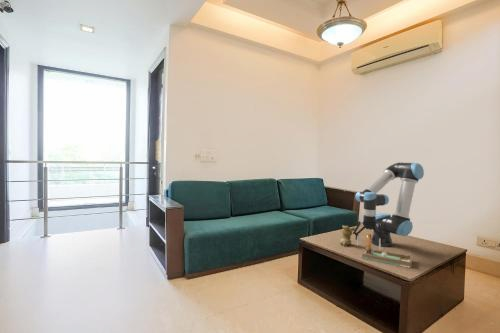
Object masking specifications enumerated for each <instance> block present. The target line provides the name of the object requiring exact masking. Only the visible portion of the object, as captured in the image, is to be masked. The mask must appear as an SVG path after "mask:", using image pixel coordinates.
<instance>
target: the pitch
mask: <svg viewBox="0 0 500 333" xmlns="http://www.w3.org/2000/svg"><path fill="white" fill-rule="evenodd" d="M364 249H365V251H364V253H363V252H362V253H361V258H362V259H364V260H368V261H373V262H379V263H383V264H388V265H393V266H398V267H399V266H400V267H405V268H409V269H412V265H413V254H412V255H409V254H408V255H407V254H403V253H397V252H391V251H386V250H385V251H384V250H381V249H375V248H374V249H373V248H371V252H372V250H374V254H373V255H370V254H365V252H366V250H367V247H365V248H364ZM382 252H386V253H387V257H382V255H381V254H382Z"/></svg>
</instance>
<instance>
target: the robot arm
mask: <svg viewBox="0 0 500 333" xmlns="http://www.w3.org/2000/svg"><path fill="white" fill-rule="evenodd" d="M424 171H425V170H424V167H423V165H421V164H420V163H419V162H396V163H393V164H391V165H389V166H388V167H386V168H384V170H383V171H382V173H381V174H380V175H379V176H378V177H377V178H376V179H375V180H374V181H372V183H370V184H369V185H368V186H367V187H366V188H365V189H363V191H358V192H356V194H355V197H354V198H355V200H356V201H357V202H359V203H363V217H362V218H363V221H361V220H358V223H357V225H356V227H354V228H355V230H354V231H352V235H355V240H356V246H359V245H360V233H361V232H363V230H365V229H366V230H373V233H372V234H371V245H375V246H378V250H381V247H393V245H394V244H393V242H394V241H393V239H392V236H391V234H394V235H397V236H402V237H406V236H407V237H408V236H409V235H410V234H411V233H412V231H413V222H412V221H411V217H410V211H411V205H412V202H413V196H414V191H415V187H416V184H418V183H419V180H421V179H423V177H424V175H425V172H424ZM397 178H398V179H399V178H400V181H401V185H400V189H399V194H398V198H397V203H396V208H395V212H394V213H392V215H391V214H390V213H377V207H380V206H386V205H388V204H389V202H390V199H389V196H388V195H387V194H385V193H380V194H378V193H379V192H380V191H381V190H382V189H383V188H385V187H386V185H387V184H388V183H390V182H391V181H394V180H395V179H397ZM361 225H363V226H362V228H360V229H359V227H360V226H361Z"/></svg>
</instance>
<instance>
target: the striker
mask: <svg viewBox="0 0 500 333" xmlns="http://www.w3.org/2000/svg"><path fill="white" fill-rule="evenodd" d="M371 238H372V234H370V233H367V234H366V248H367V250H366V252H365V251H364V253H365V254H370V255H373V254H374V250H372V252H371V249H372V243H371Z"/></svg>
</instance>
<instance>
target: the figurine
mask: <svg viewBox="0 0 500 333" xmlns="http://www.w3.org/2000/svg"><path fill="white" fill-rule="evenodd" d="M341 227H342V230H341V231H342V232H341V233H342V235H341V236H342V237H341V238H340V239H339V244H340V245H342V246H344V247H349V246H351V244H352V240H351V238H352V237H351V236H352V235H353V232H354V230H355V228H356V227H349V226H348V225H344V224H342V226H341Z"/></svg>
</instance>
